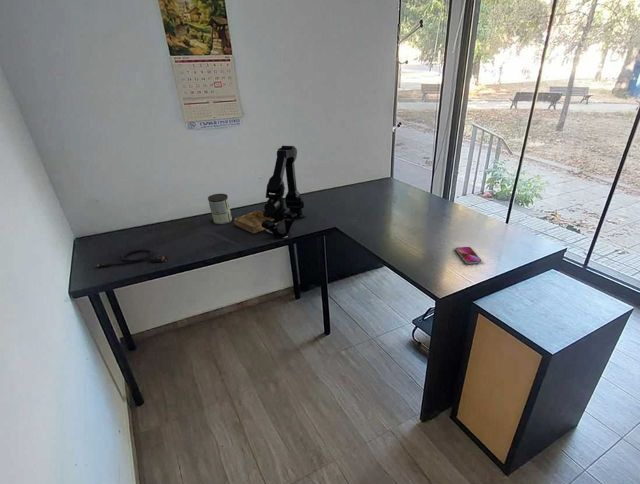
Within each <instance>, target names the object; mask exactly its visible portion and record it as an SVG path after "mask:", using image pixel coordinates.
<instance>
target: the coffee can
mask: <svg viewBox="0 0 640 484" xmlns="http://www.w3.org/2000/svg"><path fill="white" fill-rule="evenodd" d="M228 197H229V196H228V194H227V193H214V194H210V195H209V196H208V197H207V200H208V205H209V209H210V212H211V213H210V214H211V217H212V222H213V223H214V224H218V225H223V224H227V223H231V222H232V220H233V218H232V212H231V207H230V202H229V198H228Z"/></svg>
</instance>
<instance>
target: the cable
mask: <svg viewBox="0 0 640 484" xmlns="http://www.w3.org/2000/svg"><path fill="white" fill-rule="evenodd" d="M139 252H147V253H148V255H146V256H144V257H141V258H136V259H128V258H126V256H128V255H131V254H133V253H139ZM152 256H153V252H152V250H151V249H147V248H146V249H145V248H140V249H133V250H129V251H126V252H124V253H122V254H121V255H120V259H121V260H122V261H123V262H121V263H105V262H104V263H98V264H97V265H96V267H97V268H106V267H109V266H118V265H128V264H132V263H133V264H134V263H139V262H142V261H151V262H152V263H163V262H164V261H165V259H166V256H164V255H157V256H153V257H152Z"/></svg>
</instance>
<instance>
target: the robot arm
mask: <svg viewBox="0 0 640 484" xmlns="http://www.w3.org/2000/svg"><path fill="white" fill-rule="evenodd" d="M297 156H298V149H297V148H296V146H295V145H281V147H279V148H277V151H276V160H275V165H274V169H273V174H272V175H271V176H270V177H269V178H268V182H267V184H266V191H265V199H267V200H266V203H265V204H264V206H263V209H264V210H263V211H262V213H263V215H264V217H267V218H270V217H271V219H274V220H273V221H270V220H265V221H263V222H262V227H263V228H266V229H267V230H269V231H270V232H272V233H273V234H272V235H273V236H274V238H275V239H277V238H278V236H277V230H278V226H276V225H275V224H276V223H278V224H279V223H282V222H283V223H284V228H285V232H287V235H288V234H289V232H290V229H291V228H292V225H293V223H294V222H295V221H297V220H300V219H303V218H305V216H304V215H303V209H304V208H305V202H304V200H303V198H302V197H301V193H300V191H299V190H298V187H297V179H296V168H295V162H296V160H297ZM284 175H286V185H287V192H286V195H285V191H286V190H285V189H286V187H285V182H284ZM284 196H285V199H284ZM284 202H285V204H284ZM285 205H286V206H285ZM285 207H286V208H285ZM287 209H289V211H287ZM286 211H287V212H286ZM266 229H265V230H266Z"/></svg>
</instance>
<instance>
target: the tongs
mask: <svg viewBox="0 0 640 484" xmlns="http://www.w3.org/2000/svg"><path fill="white" fill-rule="evenodd" d="M264 233H267V234H271V235H273V233H272V231H271V230H268V229H264ZM277 237H279V238H281V239H283V240H285V239H287V238H289V235H288V234H287V232H286V230H283V229H277Z"/></svg>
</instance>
